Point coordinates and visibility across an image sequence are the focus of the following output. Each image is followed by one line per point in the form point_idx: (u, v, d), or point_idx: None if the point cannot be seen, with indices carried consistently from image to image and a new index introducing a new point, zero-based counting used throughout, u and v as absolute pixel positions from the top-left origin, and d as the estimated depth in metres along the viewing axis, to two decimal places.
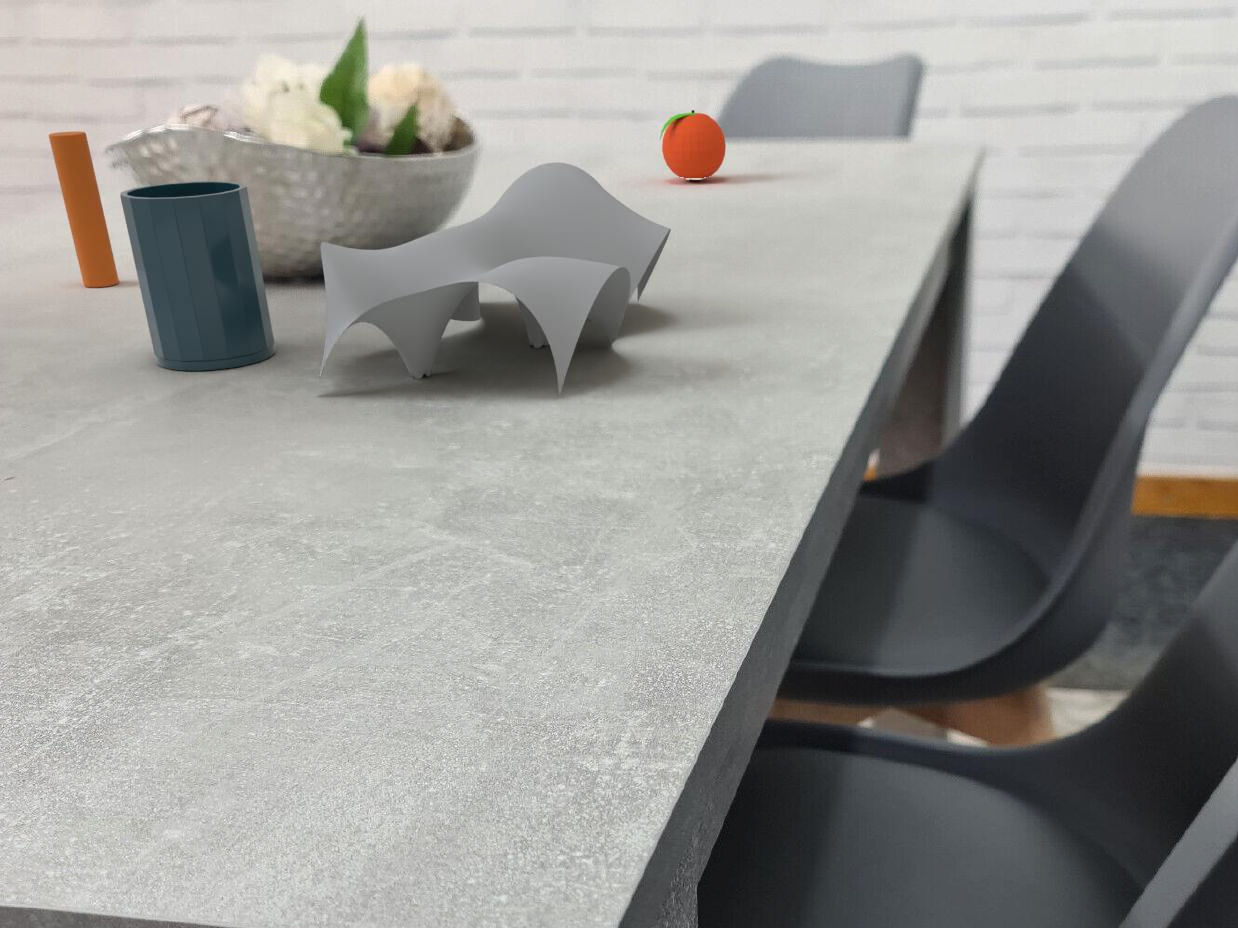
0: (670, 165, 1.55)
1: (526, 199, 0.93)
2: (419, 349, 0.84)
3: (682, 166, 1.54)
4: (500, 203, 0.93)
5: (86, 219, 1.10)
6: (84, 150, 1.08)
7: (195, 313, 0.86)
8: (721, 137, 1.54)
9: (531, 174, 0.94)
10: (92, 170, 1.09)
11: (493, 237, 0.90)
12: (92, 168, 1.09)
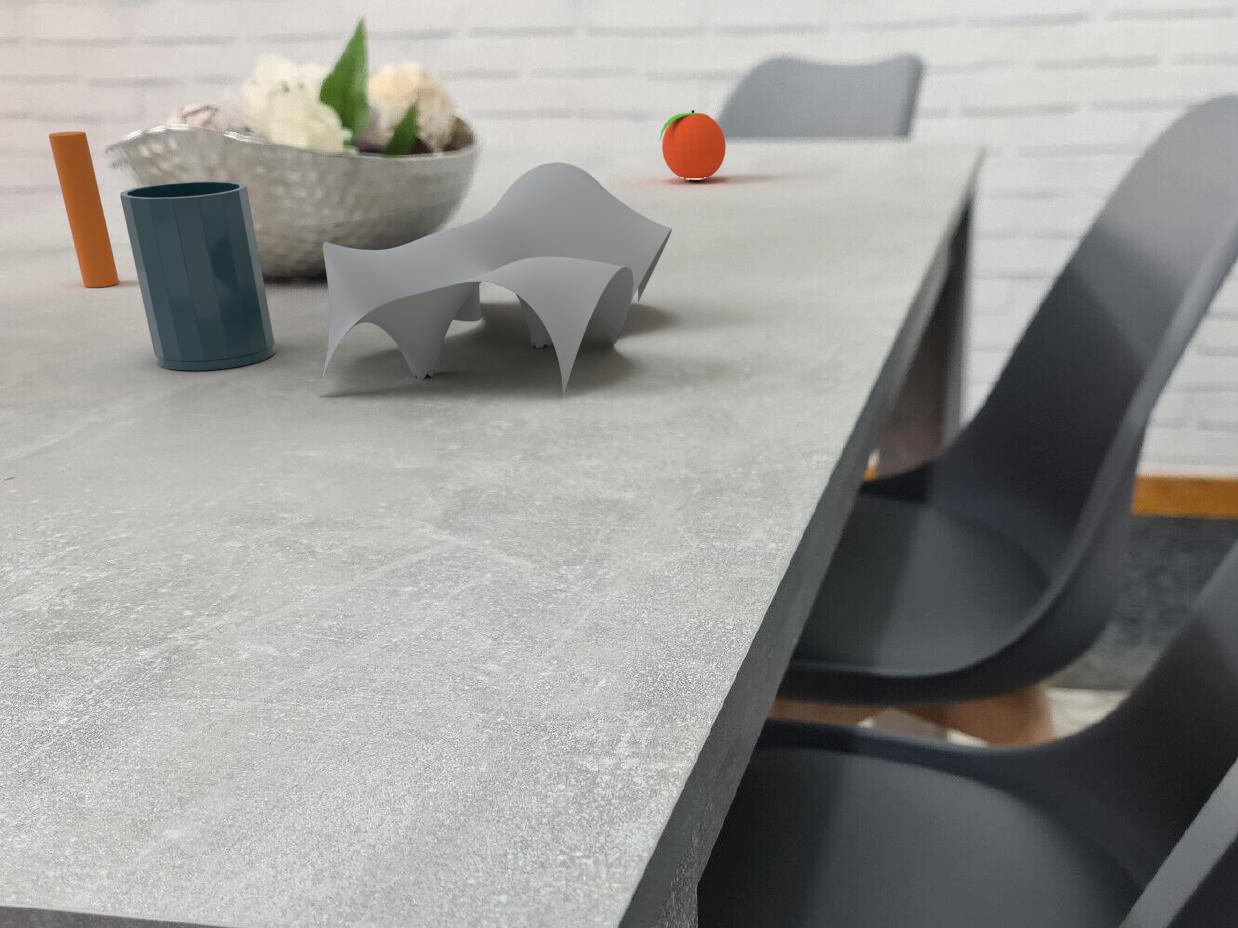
0: (670, 165, 1.55)
1: (527, 199, 0.93)
2: (422, 349, 0.84)
3: (682, 166, 1.54)
4: (501, 203, 0.93)
5: (86, 219, 1.10)
6: (84, 150, 1.08)
7: (195, 313, 0.86)
8: (721, 137, 1.54)
9: (532, 174, 0.94)
10: (92, 170, 1.09)
11: (495, 237, 0.90)
12: (92, 168, 1.09)
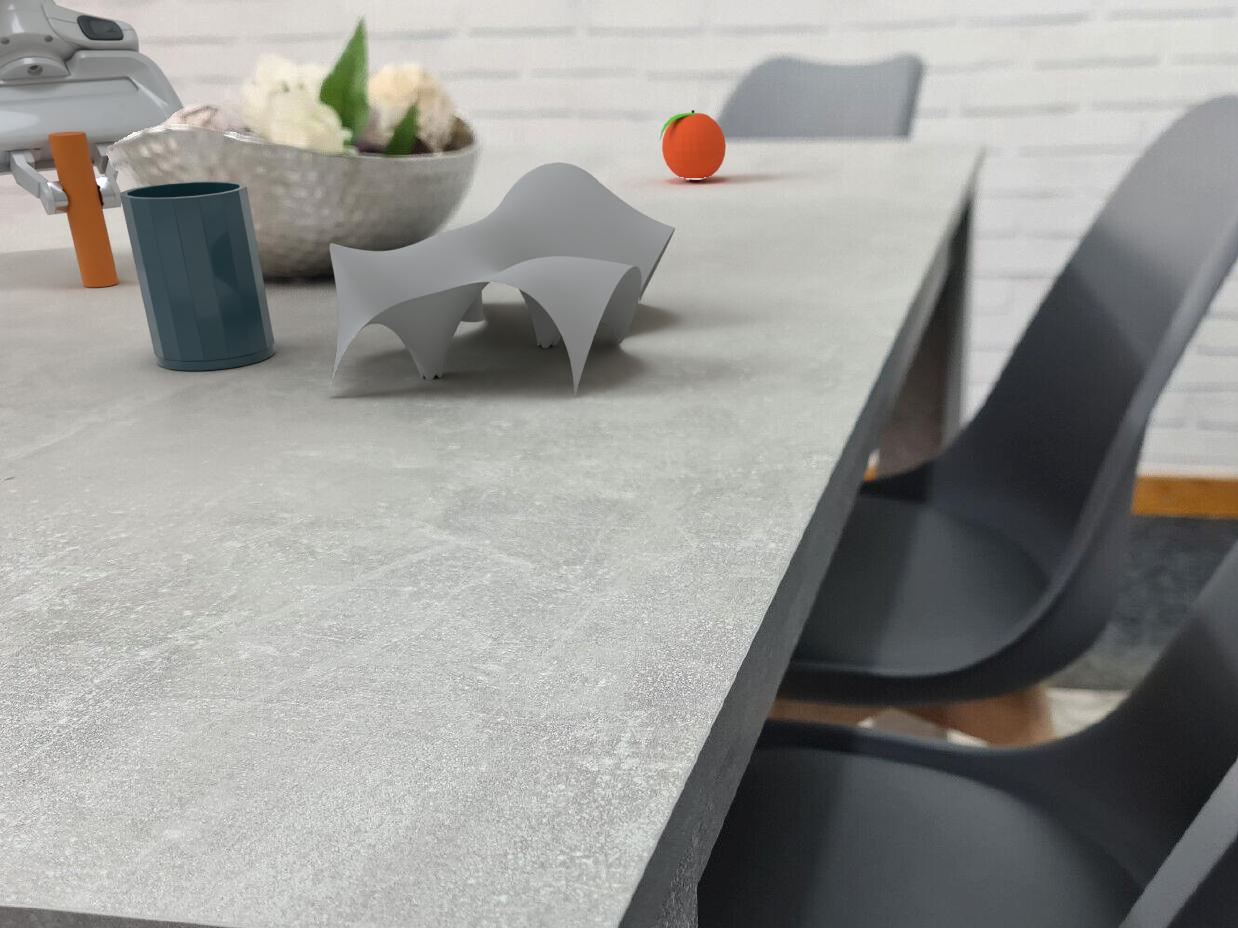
0: (670, 165, 1.55)
1: (530, 199, 0.92)
2: (431, 350, 0.84)
3: (682, 166, 1.54)
4: (505, 203, 0.93)
5: (86, 219, 1.10)
6: (84, 150, 1.08)
7: (195, 313, 0.86)
8: (721, 137, 1.54)
9: (535, 174, 0.94)
10: (91, 170, 1.09)
11: (500, 237, 0.90)
12: (92, 168, 1.09)
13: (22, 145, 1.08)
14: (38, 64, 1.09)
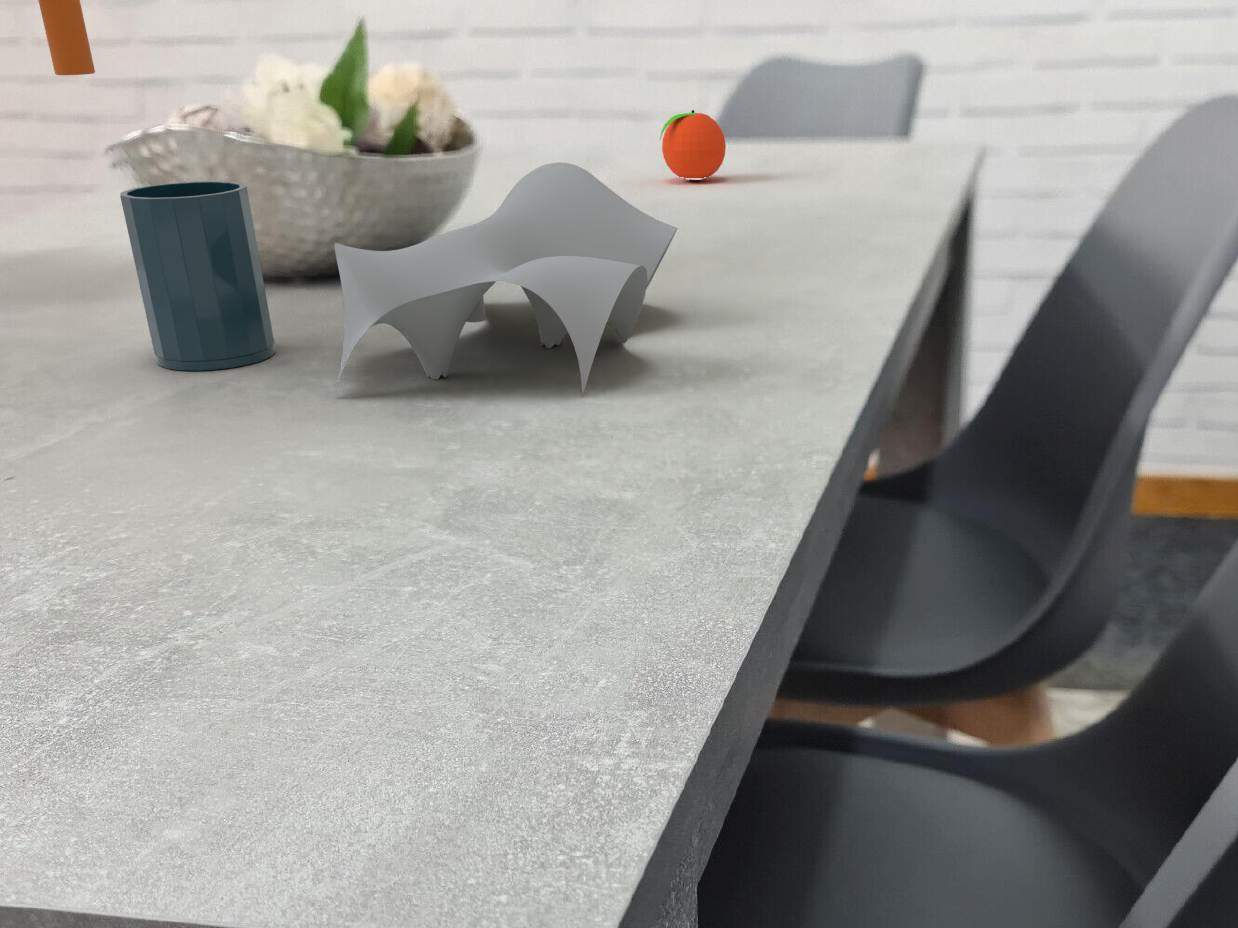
0: (670, 165, 1.55)
1: (533, 199, 0.92)
2: (437, 350, 0.84)
3: (682, 166, 1.54)
4: (507, 203, 0.92)
5: None
6: None
7: (195, 313, 0.86)
8: (721, 137, 1.54)
9: (537, 174, 0.94)
10: None
11: (504, 237, 0.90)
12: None
13: None
14: None
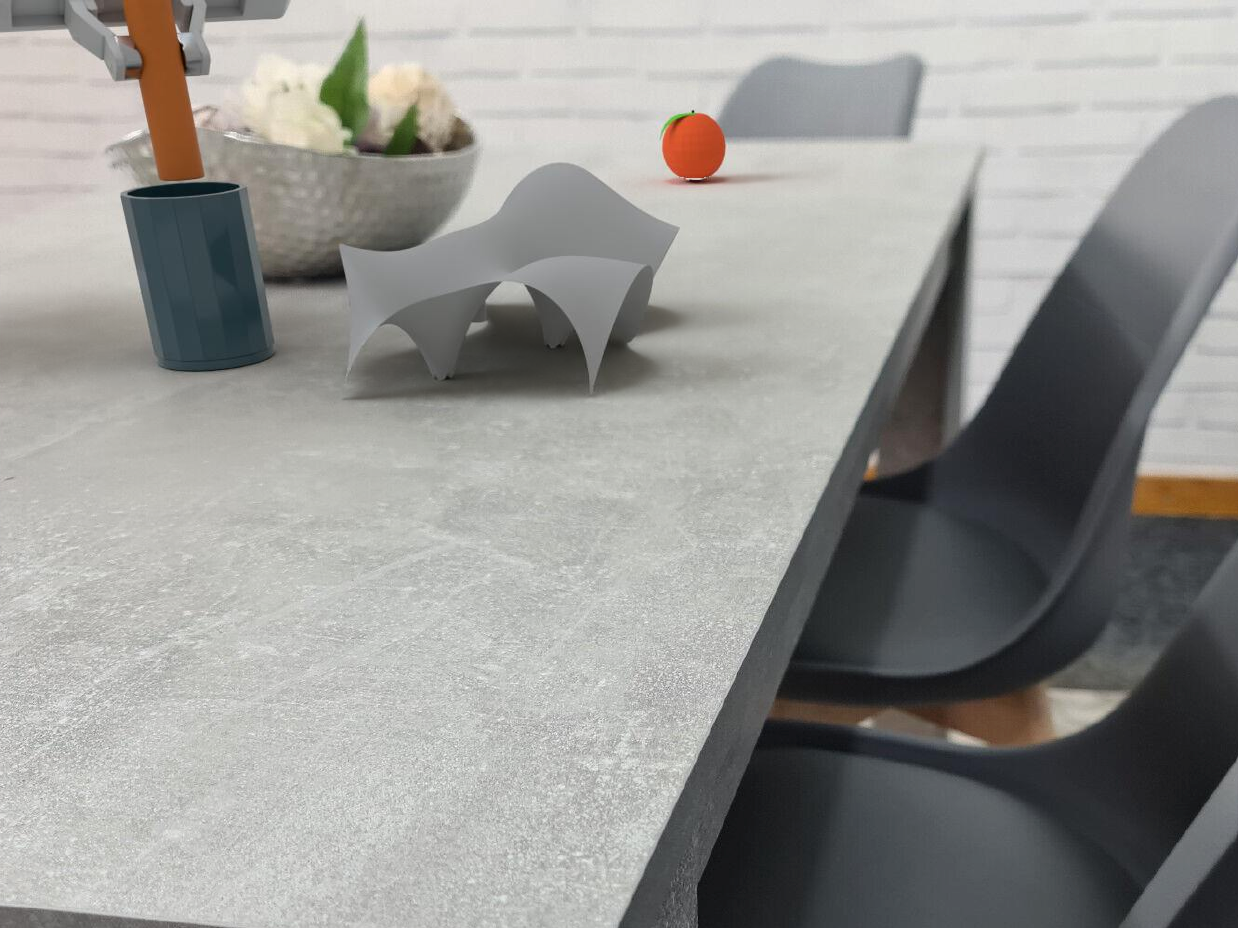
0: (670, 165, 1.55)
1: (536, 199, 0.92)
2: (444, 350, 0.84)
3: (682, 166, 1.54)
4: (510, 203, 0.92)
5: (165, 87, 0.83)
6: None
7: (195, 313, 0.86)
8: (721, 137, 1.54)
9: (539, 174, 0.94)
10: (172, 21, 0.82)
11: (507, 237, 0.90)
12: (173, 19, 0.82)
13: None
14: None
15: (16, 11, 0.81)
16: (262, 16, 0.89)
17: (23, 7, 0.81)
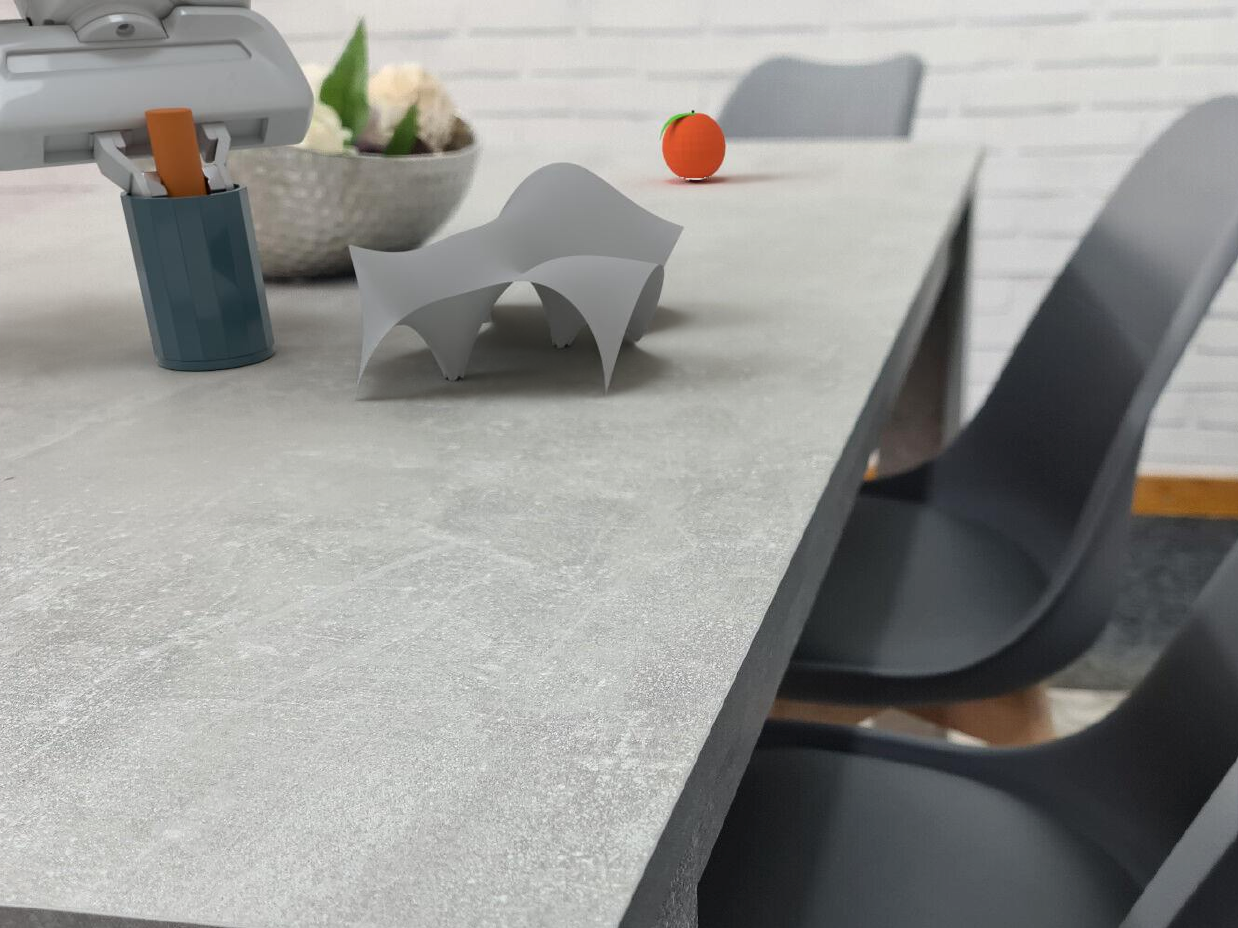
0: (670, 165, 1.55)
1: (541, 199, 0.92)
2: (456, 351, 0.83)
3: (682, 166, 1.54)
4: (515, 203, 0.92)
5: None
6: (189, 132, 0.84)
7: (195, 313, 0.86)
8: (721, 137, 1.54)
9: (543, 174, 0.94)
10: (198, 158, 0.85)
11: (514, 237, 0.90)
12: (198, 155, 0.86)
13: (110, 125, 0.84)
14: (130, 22, 0.86)
15: (48, 148, 0.85)
16: (282, 143, 0.92)
17: (54, 144, 0.85)
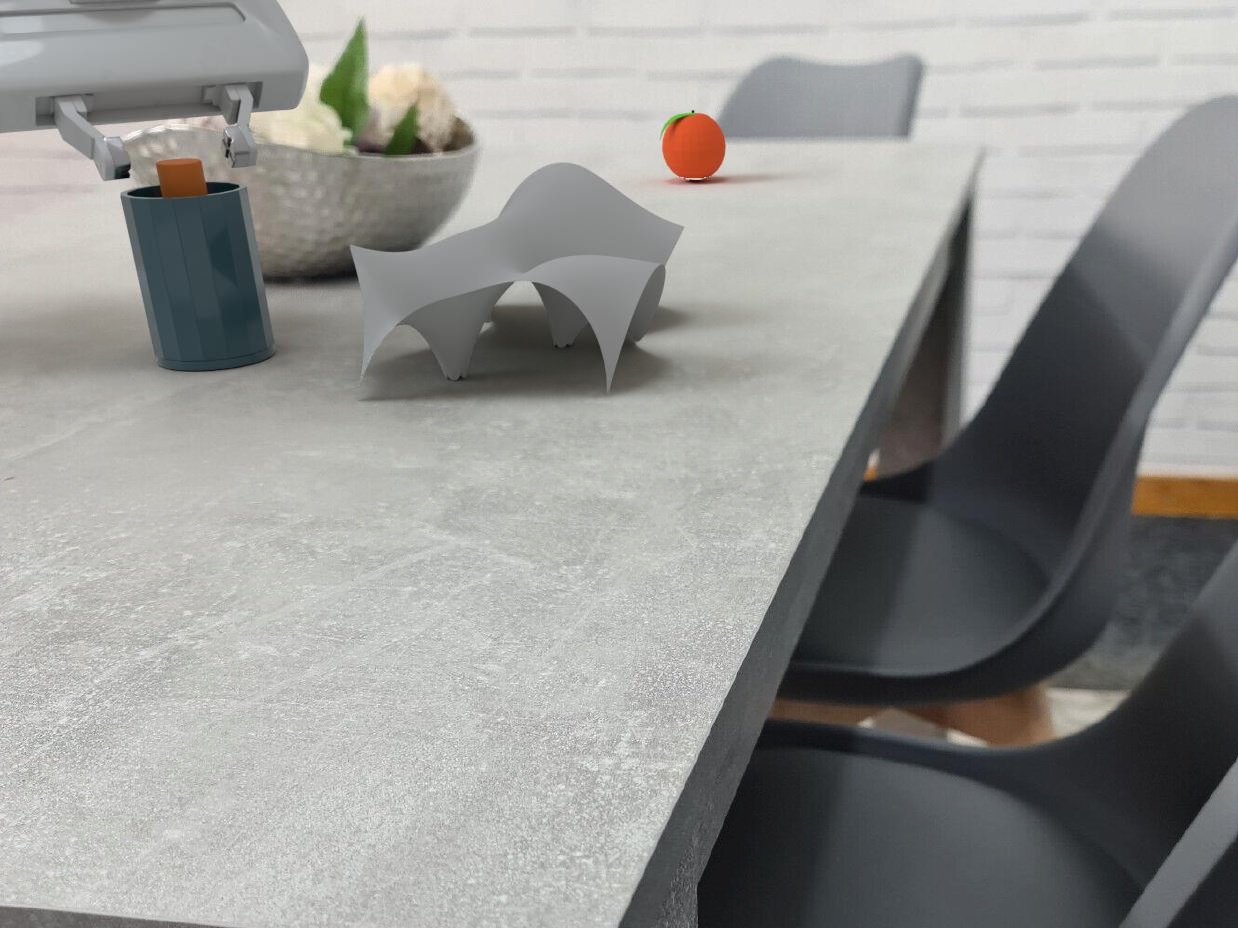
0: (670, 165, 1.55)
1: (541, 199, 0.92)
2: (457, 350, 0.83)
3: (682, 166, 1.54)
4: (515, 203, 0.92)
5: None
6: (200, 182, 0.86)
7: (195, 313, 0.86)
8: (721, 137, 1.54)
9: (543, 174, 0.94)
10: None
11: (515, 237, 0.90)
12: None
13: (103, 87, 0.83)
14: None
15: (39, 110, 0.84)
16: (277, 108, 0.91)
17: (46, 107, 0.84)
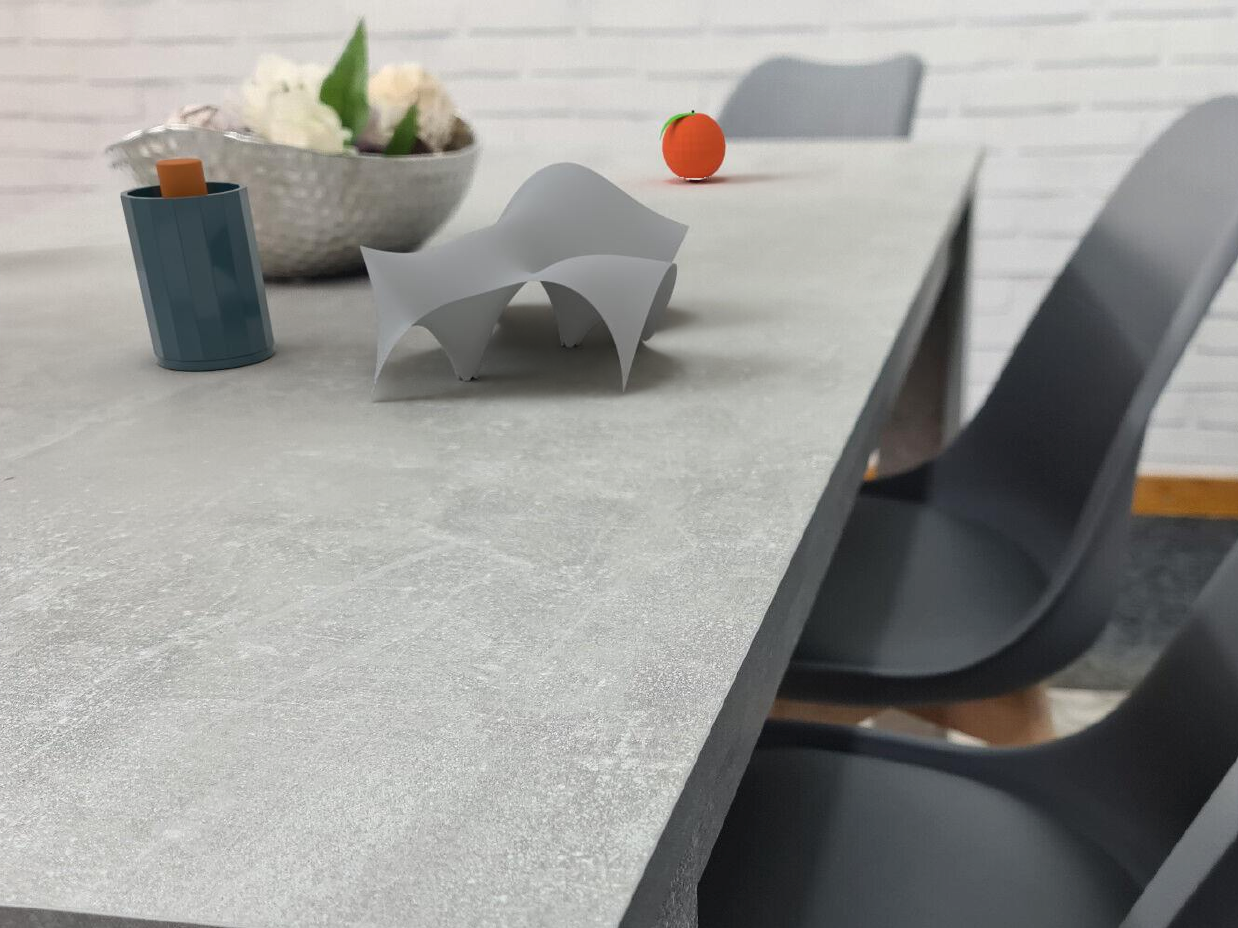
0: (670, 165, 1.55)
1: (546, 199, 0.92)
2: (470, 351, 0.83)
3: (682, 166, 1.54)
4: (521, 204, 0.92)
5: None
6: (200, 182, 0.86)
7: (195, 313, 0.86)
8: (721, 137, 1.54)
9: (547, 174, 0.94)
10: None
11: (522, 237, 0.90)
12: None
13: None
14: None
15: None
16: None
17: None
